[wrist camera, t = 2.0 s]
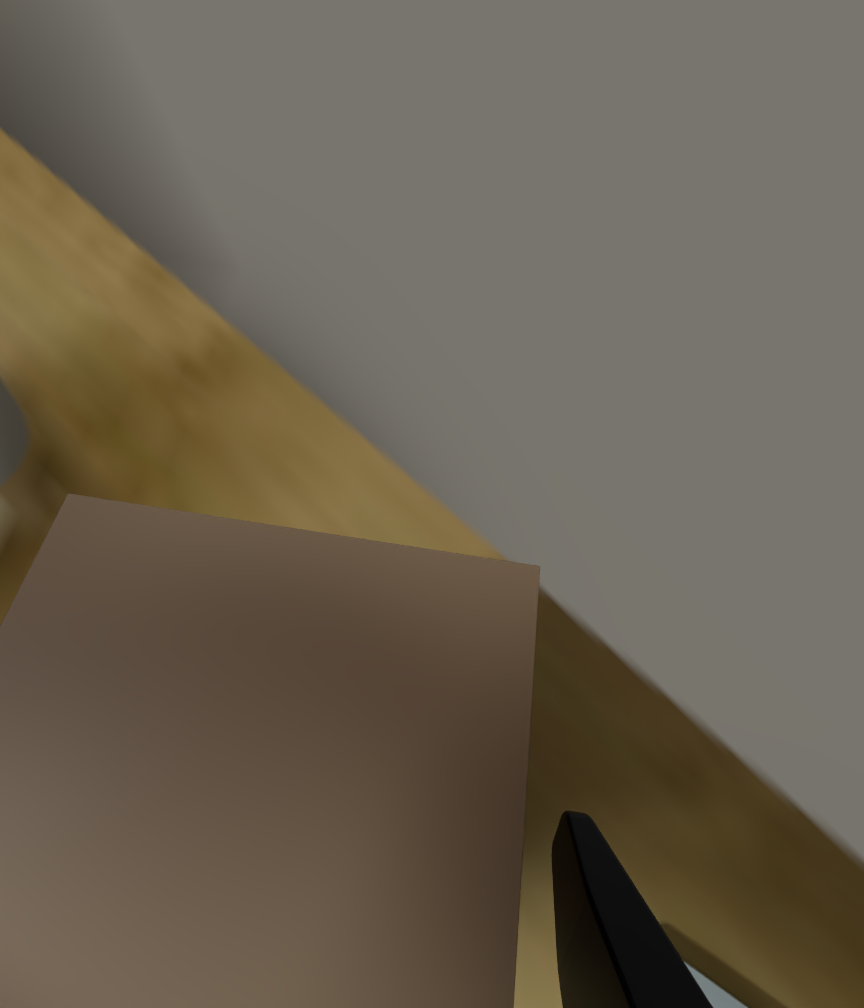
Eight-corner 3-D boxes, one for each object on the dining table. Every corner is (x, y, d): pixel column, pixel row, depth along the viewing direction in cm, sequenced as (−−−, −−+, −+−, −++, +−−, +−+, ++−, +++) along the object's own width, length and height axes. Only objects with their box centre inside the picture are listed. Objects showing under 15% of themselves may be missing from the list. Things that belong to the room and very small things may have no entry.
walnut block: (432, 878, 14) (492, 1357, 4) (234, 843, 15) (-290, 1195, 4) (458, 667, 17) (540, 565, 6) (288, 640, 17) (67, 493, 6)
